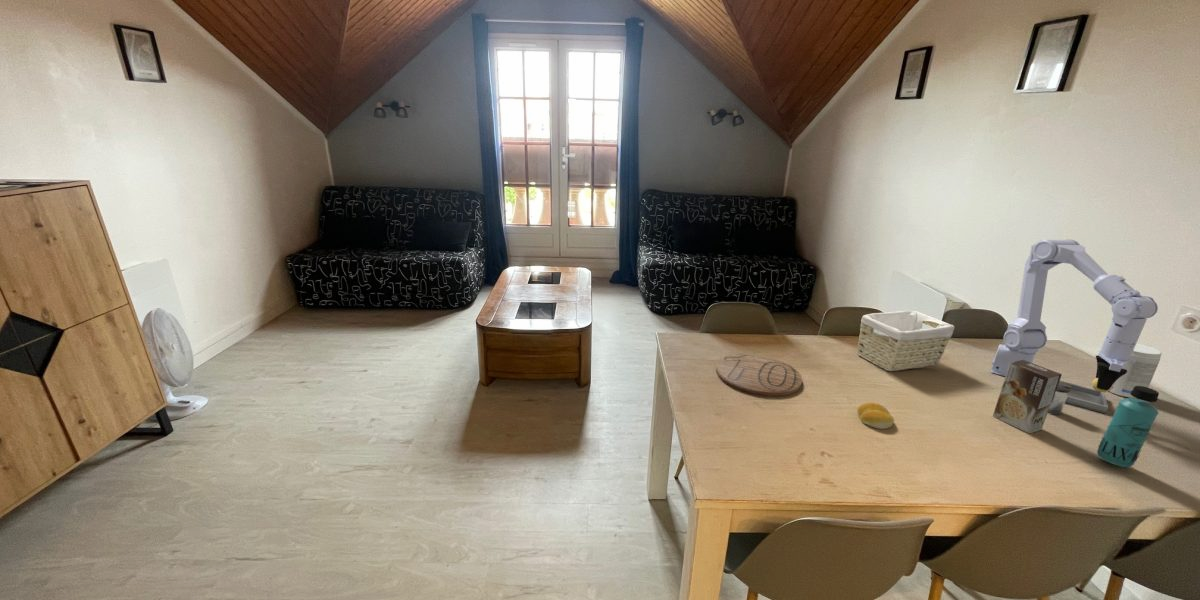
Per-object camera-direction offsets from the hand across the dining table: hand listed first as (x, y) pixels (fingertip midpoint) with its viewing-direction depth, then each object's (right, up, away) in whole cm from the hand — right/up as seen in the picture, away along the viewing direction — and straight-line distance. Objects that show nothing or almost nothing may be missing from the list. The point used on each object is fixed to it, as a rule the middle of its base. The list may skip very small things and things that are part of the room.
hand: (1101, 386), depth 136 cm
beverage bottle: (-16, -15, -19) cm, 29 cm away
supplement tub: (+23, -5, +17) cm, 28 cm away
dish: (+4, -5, +11) cm, 13 cm away
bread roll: (-64, -8, -4) cm, 65 cm away
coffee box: (-25, -9, -3) cm, 27 cm away
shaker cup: (-10, -7, +4) cm, 13 cm away
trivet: (-88, 0, +17) cm, 90 cm away
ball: (0, 0, 0) cm, 0 cm away
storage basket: (-37, +3, +32) cm, 49 cm away
